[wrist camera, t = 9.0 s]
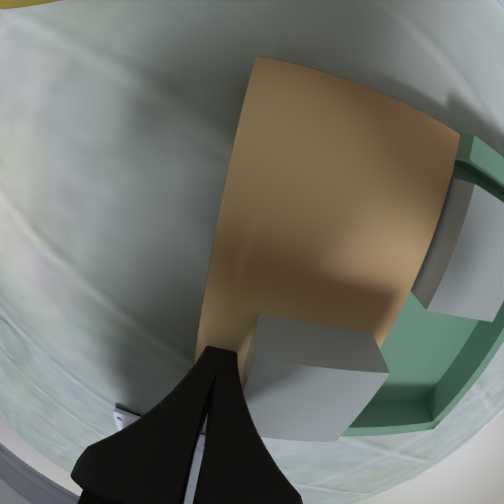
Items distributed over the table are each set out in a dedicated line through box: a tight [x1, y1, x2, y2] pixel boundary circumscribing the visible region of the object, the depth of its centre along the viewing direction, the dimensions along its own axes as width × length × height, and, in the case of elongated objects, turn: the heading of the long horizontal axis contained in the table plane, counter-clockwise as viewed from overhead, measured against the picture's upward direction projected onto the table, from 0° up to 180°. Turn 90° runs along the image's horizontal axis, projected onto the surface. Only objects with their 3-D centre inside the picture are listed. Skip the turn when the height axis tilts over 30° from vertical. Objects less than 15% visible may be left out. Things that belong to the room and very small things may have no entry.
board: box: [193, 56, 460, 376], centre depth 11 cm, size 16×8×2 cm, turn 167°
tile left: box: [240, 313, 390, 442], centre depth 10 cm, size 5×5×2 cm
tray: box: [341, 134, 504, 436], centre depth 11 cm, size 16×8×2 cm, turn 167°
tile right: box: [410, 177, 504, 322], centre depth 9 cm, size 5×5×2 cm
